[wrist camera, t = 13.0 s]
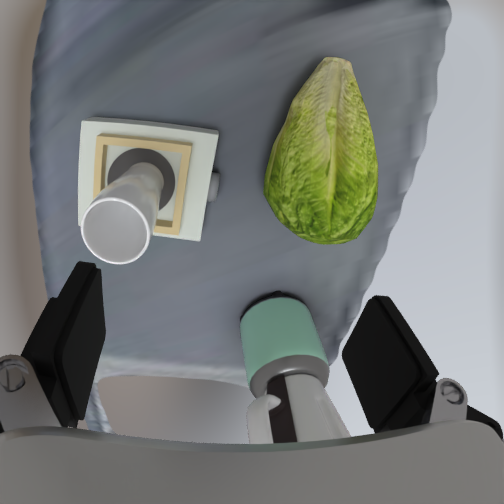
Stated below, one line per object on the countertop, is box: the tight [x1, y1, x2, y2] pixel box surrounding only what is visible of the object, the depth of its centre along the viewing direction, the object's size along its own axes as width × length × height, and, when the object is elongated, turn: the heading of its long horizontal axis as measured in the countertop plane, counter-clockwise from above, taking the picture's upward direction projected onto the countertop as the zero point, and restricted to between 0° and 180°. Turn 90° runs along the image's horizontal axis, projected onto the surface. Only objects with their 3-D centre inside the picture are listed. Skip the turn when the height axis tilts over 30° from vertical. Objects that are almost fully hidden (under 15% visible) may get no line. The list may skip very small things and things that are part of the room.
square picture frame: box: [78, 117, 220, 241], centre depth 41 cm, size 15×19×6 cm
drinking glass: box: [81, 162, 164, 264], centre depth 33 cm, size 7×7×15 cm
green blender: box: [240, 291, 351, 444], centre depth 44 cm, size 19×13×35 cm
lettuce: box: [263, 57, 378, 244], centre depth 39 cm, size 15×24×14 cm, turn 173°
